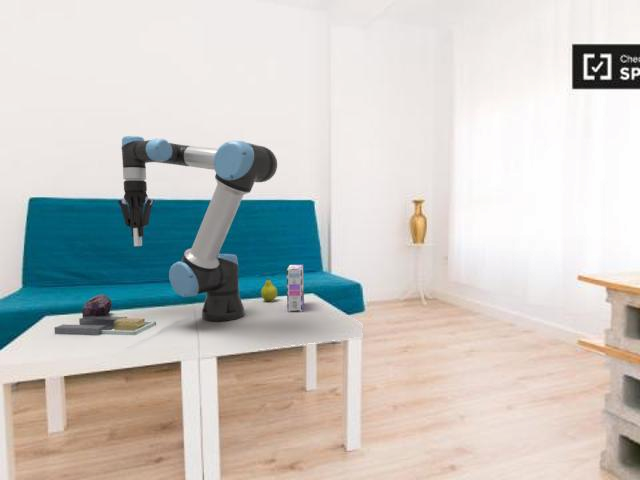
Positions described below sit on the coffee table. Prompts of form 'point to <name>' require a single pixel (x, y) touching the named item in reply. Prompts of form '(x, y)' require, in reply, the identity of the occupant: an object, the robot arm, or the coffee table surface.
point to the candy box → (295, 288)
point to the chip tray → (116, 332)
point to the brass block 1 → (121, 324)
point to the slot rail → (88, 326)
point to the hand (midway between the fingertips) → (138, 245)
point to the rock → (97, 306)
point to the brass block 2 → (134, 324)
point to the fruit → (268, 291)
